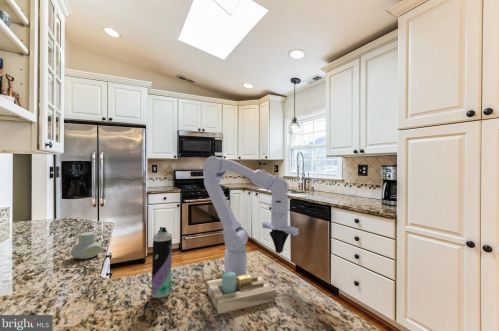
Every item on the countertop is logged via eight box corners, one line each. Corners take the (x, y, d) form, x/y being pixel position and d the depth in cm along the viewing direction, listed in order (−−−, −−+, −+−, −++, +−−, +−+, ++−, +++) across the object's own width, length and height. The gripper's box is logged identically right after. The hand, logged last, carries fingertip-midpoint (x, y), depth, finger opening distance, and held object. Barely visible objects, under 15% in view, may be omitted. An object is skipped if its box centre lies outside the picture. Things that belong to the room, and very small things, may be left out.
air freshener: (93, 251, 107) (94, 229, 107) (105, 254, 103) (105, 231, 104) (66, 259, 97) (67, 235, 97) (78, 263, 94) (79, 237, 94)
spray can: (151, 299, 67) (153, 229, 68) (151, 290, 72) (153, 225, 73) (171, 295, 69) (173, 228, 70) (170, 287, 74) (171, 224, 75)
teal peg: (220, 296, 69) (220, 272, 70) (233, 294, 70) (233, 270, 71) (223, 303, 65) (223, 278, 66) (237, 301, 67) (237, 276, 67)
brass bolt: (236, 284, 70) (236, 276, 70) (248, 282, 72) (248, 274, 72) (239, 288, 68) (239, 279, 68) (252, 285, 70) (252, 277, 70)
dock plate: (206, 291, 72) (206, 278, 72) (255, 281, 79) (255, 269, 79) (218, 314, 60) (218, 299, 61) (275, 300, 67) (275, 287, 68)
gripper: (256, 211, 84) (256, 249, 83) (289, 217, 74) (289, 260, 73) (269, 209, 89) (269, 245, 88) (302, 214, 78) (302, 255, 78)
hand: (279, 252), depth 81 cm, fingers closed
